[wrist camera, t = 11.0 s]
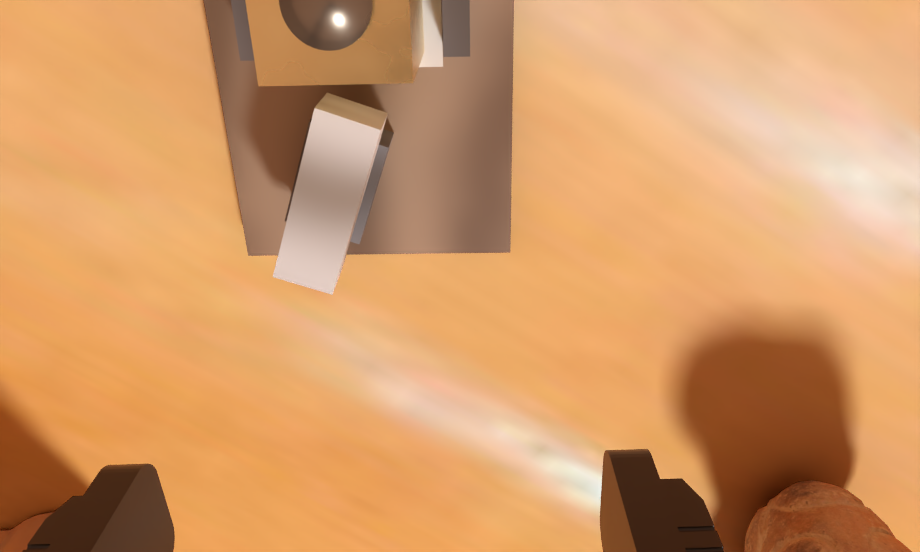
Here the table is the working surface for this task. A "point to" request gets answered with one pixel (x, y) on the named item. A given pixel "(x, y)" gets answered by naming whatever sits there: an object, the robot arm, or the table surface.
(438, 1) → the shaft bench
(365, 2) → the tan knob block
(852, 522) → the pipe
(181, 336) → the table surface
